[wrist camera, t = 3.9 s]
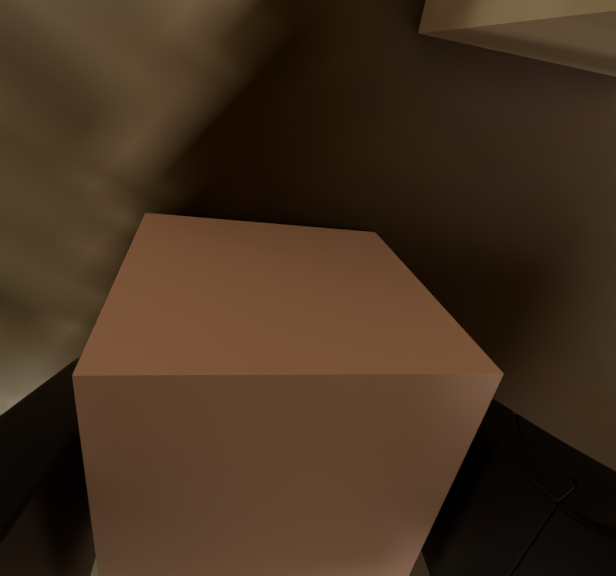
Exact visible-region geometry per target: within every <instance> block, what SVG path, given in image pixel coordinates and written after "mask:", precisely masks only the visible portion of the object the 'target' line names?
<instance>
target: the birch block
mask: <svg viewBox="0 0 616 576" xmlns="http://www.w3.org/2000/svg"><path fill="white" fill-rule="evenodd" d="M418 33H419V34H423V35H428V36H432V37H437V38H441V39H446V40H451V41H455V42H460V43H464V44H469V45H473V46H478V47H482V48H487V49H492V50H496V51H501V52H505V53H510V54H514V55H519V56H523V57H528V58H533V59H537V60H542V61H546V62H551V63H555V64H560V65H564V66H569V67H574V68H578V69H583V70H587V71H592V72H596V73H601V74H605V75H610V76H615V77H616V0H426V1H425V6H424V10H423V14H422V18H421V22H420V26H419V30H418Z"/></svg>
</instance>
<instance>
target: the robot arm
mask: <svg viewBox="0 0 616 576" xmlns="http://www.w3.org/2000/svg"><path fill="white" fill-rule="evenodd" d="M80 357H81V356H79V357H78V358H77V359H75V360H74V361H73V362H71V363H70V364H69V365H67V366H66V367H65V368H63V369H62V370H61V371H59V372H58V373H57V374H55V375H54V376H53V377H51V378H50V379H49V380H47V381H46V382H45V383H43V384H42V385H41V386H39V387H38V388H37V389H35V390H34V391H33V392H31V393H30V394H29V395H27V396H26V397H25V398H23V399H22V400H21V401H19V402H18V403H17V404H15V405H14V406H13V407H11V408H10V409H9V410H7V411H6V412H5V413H3V414H2V415H1V416H0V576H90V575H91V572H92V568H93V565H94V562H95V558H96V554H95V546H94V539H93V531H92V523H91V516H90V508H89V501H88V493H87V486H86V478H85V470H84V463H83V455H82V448H81V440H80V432H79V425H78V417H77V410H76V402H75V395H74V387H73V379H72V375H73V372H74V370H75V368H76V366H77V363H78V361H79V359H80ZM421 551H422V554H423V557H424V559H425V562H426V565H427V568H428V570H429V573H430V576H616V471H614V470H613V469H611V468H609V467H607V466H605V465H603V464H602V463H600V462H598V461H596V460H594V459H593V458H591V457H589V456H587V455H585V454H584V453H582V452H580V451H578V450H577V449H575V448H573V447H571V446H570V445H568V444H566V443H564V442H563V441H561V440H559V439H557V438H556V437H554V436H552V435H551V434H549V433H547V432H546V431H544V430H543V429H541V428H539V427H538V426H536V425H534V424H533V423H531V422H529V421H528V420H526V419H525V418H523V417H522V416H520V415H518V414H514V412H513V411H512V410H510V409H509V408H507V407H505V406H504V405H502V404H501V403H499V402H497V401H496V400H494V399H493V398H492V400H491V402H490V404H489V407H488V409H487V411H486V413H485V415H484V417H483V419H482V421H481V423H480V426H479V428H478V430H477V432H476V434H475V436H474V438H473V440H472V443H471V445H470V447H469V449H468V451H467V453H466V455H465V457H464V460H463V462H462V464H461V466H460V468H459V470H458V472H457V474H456V477H455V479H454V481H453V483H452V485H451V487H450V489H449V491H448V494H447V496H446V498H445V500H444V502H443V504H442V506H441V508H440V510H439V513H438V515H437V517H436V519H435V521H434V523H433V525H432V527H431V530H430V532H429V534H428V536H427V538H426V540H425V542H424V544H423V547H422V549H421Z"/></svg>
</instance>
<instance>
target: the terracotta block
mask: <svg viewBox="0 0 616 576" xmlns="http://www.w3.org/2000/svg"><path fill="white" fill-rule="evenodd" d="M503 375H504V373H503V372H502V371H501V370H500V369H499V368H498V367H497V366H496V365H495V363H494V362H493V361H492V360H491V359H490V358H489V357H488V356H487V355H486V354H485V352H484V351H483V350H482V349H481V348H480V347H479V346H478V345H477V344H476V343H475V341H474V340H473V339H472V338H471V337H470V336H469V335H468V334H467V333H466V332H465V330H464V329H463V328H462V327H461V326H460V325H459V324H458V323H457V322H456V321H455V319H454V318H453V317H452V316H451V315H450V314H449V313H448V312H447V311H446V310H445V308H444V307H443V306H442V305H441V304H440V303H439V302H438V301H437V300H436V299H435V297H434V296H433V295H432V294H431V293H430V292H429V291H428V290H427V289H426V288H425V286H424V285H423V284H422V283H421V282H420V281H419V280H418V279H417V278H416V277H415V275H414V274H413V273H412V272H411V271H410V270H409V269H408V268H407V267H406V266H405V264H404V263H403V262H402V261H401V260H400V259H399V258H398V257H397V256H396V255H395V253H394V252H393V251H392V250H391V249H390V248H389V247H388V246H387V245H386V244H385V242H384V241H383V240H382V239H381V238H380V237H379V236H378V235H377V234H376V233H375V232H367V231H355V230H343V229H331V228H319V227H307V226H296V225H284V224H272V223H260V222H248V221H236V220H225V219H213V218H201V217H189V216H177V215H165V214H154V213H145V214H144V217H143V219H142V221H141V223H140V226H139V228H138V230H137V232H136V234H135V237H134V239H133V241H132V243H131V246H130V248H129V250H128V252H127V254H126V257H125V259H124V261H123V263H122V266H121V268H120V270H119V272H118V275H117V277H116V279H115V281H114V283H113V286H112V288H111V290H110V292H109V295H108V297H107V299H106V301H105V303H104V306H103V308H102V310H101V312H100V315H99V317H98V319H97V321H96V323H95V326H94V328H93V330H92V332H91V335H90V337H89V339H88V341H87V343H86V346H85V348H84V350H83V352H82V355H81V357H80V359H79V361H78V363H77V366H76V368H75V370H74V372H73V375H72V379H73V387H74V395H75V402H76V410H77V417H78V425H79V432H80V440H81V448H82V455H83V463H84V470H85V478H86V486H87V493H88V501H89V508H90V516H91V523H92V531H93V539H94V546H95V554H96V561H97V569H98V576H409V574H410V572H411V570H412V568H413V566H414V564H415V561H416V559H417V557H418V555H419V553H420V551H421V549H422V547H423V544H424V542H425V540H426V538H427V536H428V534H429V532H430V530H431V527H432V525H433V523H434V521H435V519H436V517H437V515H438V513H439V510H440V508H441V506H442V504H443V502H444V500H445V498H446V496H447V494H448V491H449V489H450V487H451V485H452V483H453V481H454V479H455V477H456V474H457V472H458V470H459V468H460V466H461V464H462V462H463V460H464V457H465V455H466V453H467V451H468V449H469V447H470V445H471V443H472V440H473V438H474V436H475V434H476V432H477V430H478V428H479V426H480V423H481V421H482V419H483V417H484V415H485V413H486V411H487V409H488V407H489V404H490V402H491V400H492V398H493V396H494V394H495V392H496V390H497V387H498V385H499V383H500V381H501V379H502V377H503Z"/></svg>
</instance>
